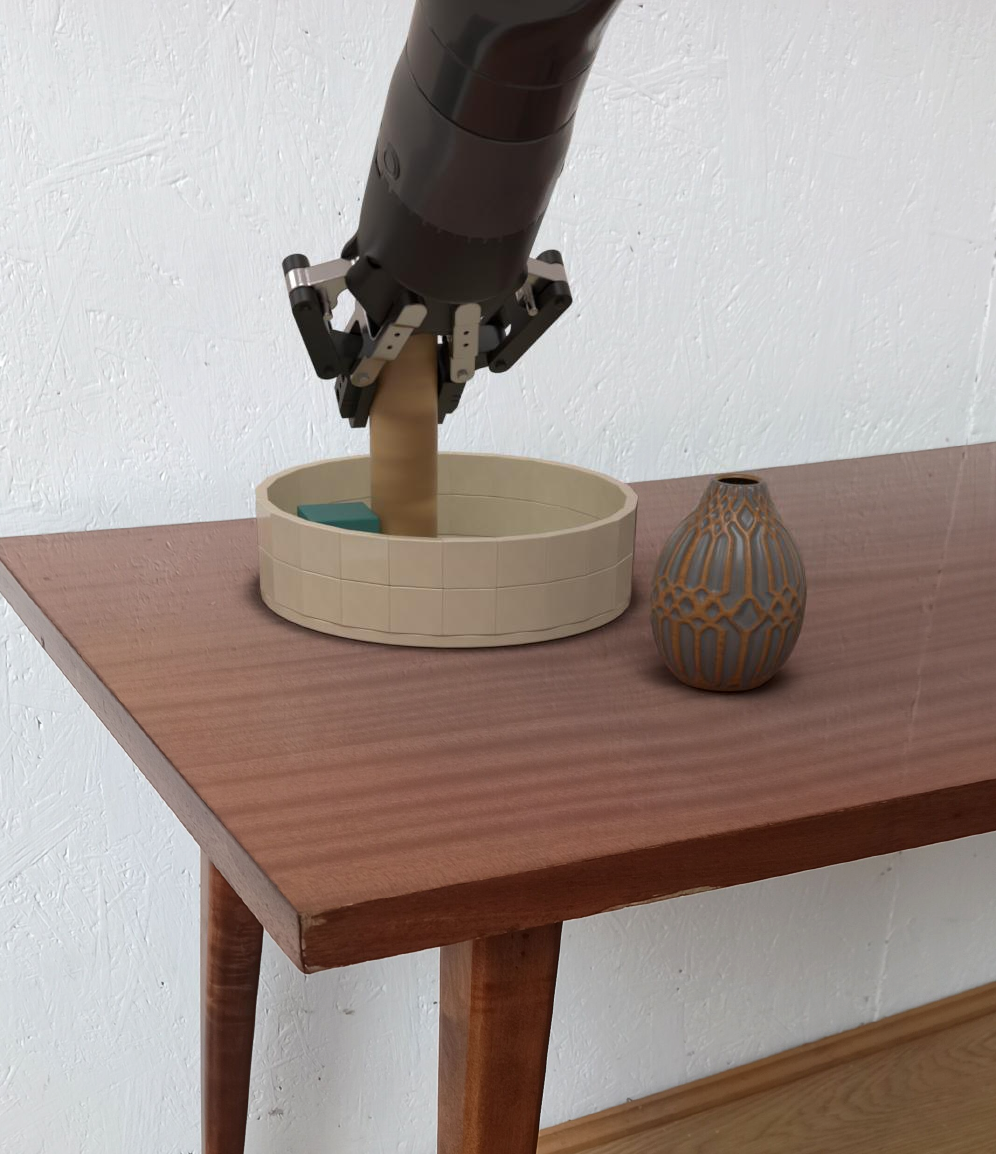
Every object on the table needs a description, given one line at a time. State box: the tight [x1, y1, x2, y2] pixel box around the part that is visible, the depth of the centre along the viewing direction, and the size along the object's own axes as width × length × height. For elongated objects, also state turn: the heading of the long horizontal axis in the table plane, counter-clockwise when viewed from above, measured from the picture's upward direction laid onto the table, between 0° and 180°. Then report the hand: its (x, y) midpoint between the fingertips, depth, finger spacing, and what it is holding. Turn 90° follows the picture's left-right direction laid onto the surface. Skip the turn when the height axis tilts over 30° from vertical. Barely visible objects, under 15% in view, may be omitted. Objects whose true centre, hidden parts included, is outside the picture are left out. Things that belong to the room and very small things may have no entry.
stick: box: [368, 333, 439, 538], centre depth 85 cm, size 3×3×14 cm
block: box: [297, 502, 380, 534], centre depth 87 cm, size 4×4×4 cm
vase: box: [649, 473, 808, 692], centre depth 76 cm, size 7×7×9 cm
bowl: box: [254, 450, 639, 649], centre depth 88 cm, size 19×19×5 cm
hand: (392, 409), depth 87 cm, fingers closed on stick, 3 cm apart
